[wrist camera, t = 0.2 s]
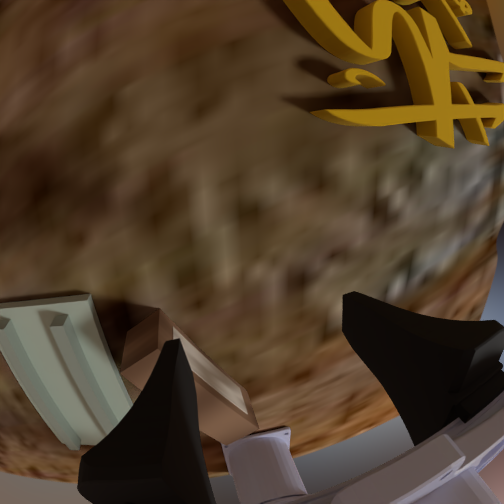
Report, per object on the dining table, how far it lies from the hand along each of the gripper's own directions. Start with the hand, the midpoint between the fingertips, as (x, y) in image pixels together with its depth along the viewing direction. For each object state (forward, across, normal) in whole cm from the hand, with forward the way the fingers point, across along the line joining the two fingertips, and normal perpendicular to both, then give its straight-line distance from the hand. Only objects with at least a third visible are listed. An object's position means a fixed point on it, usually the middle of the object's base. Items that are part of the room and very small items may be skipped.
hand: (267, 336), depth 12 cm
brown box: (+10, +5, +9) cm, 14 cm away
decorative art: (+10, -21, -16) cm, 28 cm away
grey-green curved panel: (+10, +17, +9) cm, 22 cm away
